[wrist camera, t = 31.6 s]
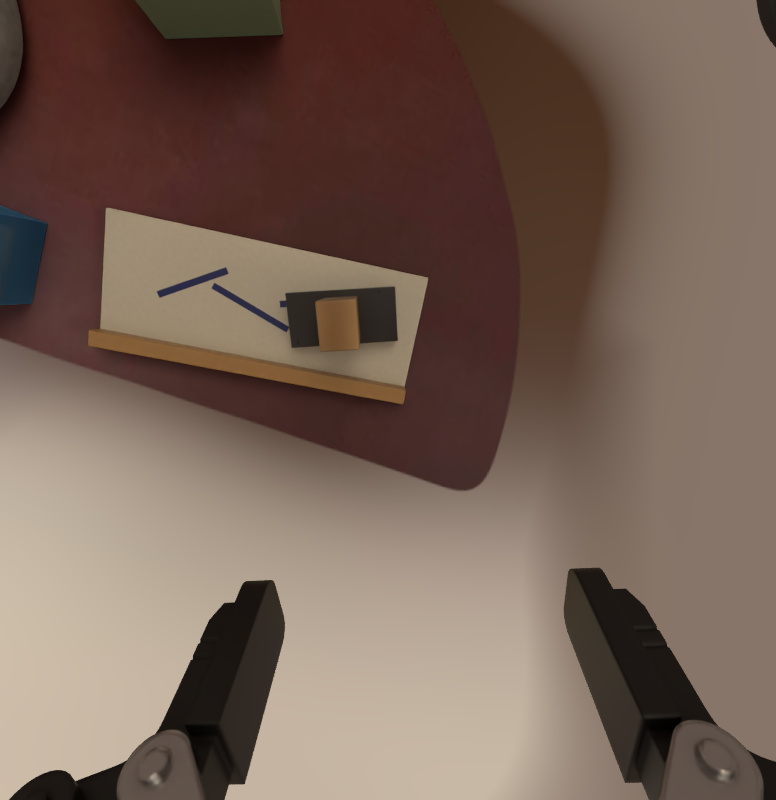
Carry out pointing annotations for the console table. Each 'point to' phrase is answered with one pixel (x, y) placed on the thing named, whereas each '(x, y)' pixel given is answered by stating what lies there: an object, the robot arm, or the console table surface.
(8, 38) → the dish
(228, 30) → the block
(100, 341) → the board
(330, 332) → the eraser
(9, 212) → the perfume bottle
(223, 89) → the console table surface
